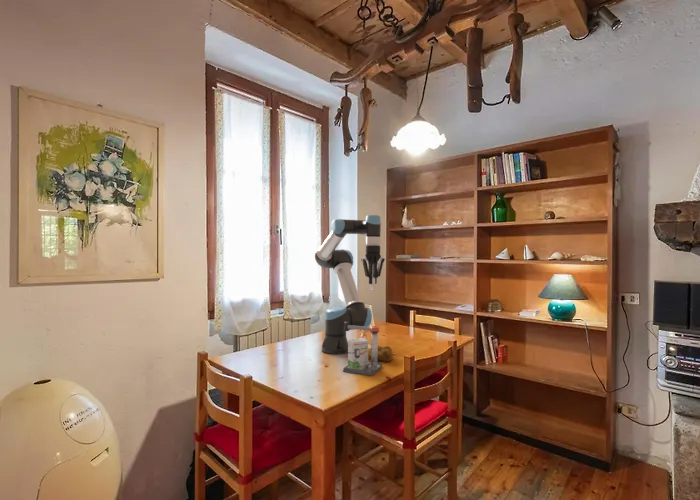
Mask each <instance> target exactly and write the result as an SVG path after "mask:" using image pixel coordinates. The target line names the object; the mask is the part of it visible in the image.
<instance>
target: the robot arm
mask: <svg viewBox="0 0 700 500" xmlns="http://www.w3.org/2000/svg"><path fill="white" fill-rule="evenodd" d="M381 225H382V222H381V216H380V215H378V214H373V215H372V214H368V215H366V216H365V220H364V219H363V220H362V219H361V220H360V219H342V218H338V219H333V220H332V221H331V226H330V227H331V232H330V233H329V234H328V236H327V237H326V239H324V242H323V243H322V245H321V246H319V247H318V248H317V249H316V250H315V253H314V258H315V262H316V263H317V265H319V266H320V267H321V268H324V269H332V270H333V272H334V274H336V275H337V277H338V281H339V285H340V288H341V291H342V294H343V299H344V301H345V305H346V306H341V305H340V306H333V307H329V308H327V309H326V310H325V314H324V319H325V320H324V337H323V341H322V345H321V352H323V353H325V354H331V355H341V354H347V353H348V337H347V331H344V322H349V325H355V326H364V327H371V326H370V325H371V324H372V320H373V319H372V318H373V314H372V309H371V308H369V307H366V305H365V302H364V301H361V298H360V294H359V292H358V289H357V285H356V282H355V279H354V276H353V273H352V268H353V265H354V256H353V253H352V252H351V251H350V250H349V249H337V247H338V246H339V244H341V242H342V240H343V239H344V238H345V237H346V236H347V235H363V236H364V235H365V244H366V245H365V256H364V257H363V258H361V259H360V261H361V262H362V266H363V271H364V275H365V277H366V278H368V284H369V285H370V291H372V292H373V291H376V284H378V283H377V281H378V280H377V279H378V278H379V277H381V273H382V268H383V265H384V262H385V261H386V259H385V258H383V256H382V255H381ZM352 330H353V331H354V330H356V329H349V331H352Z"/></svg>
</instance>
